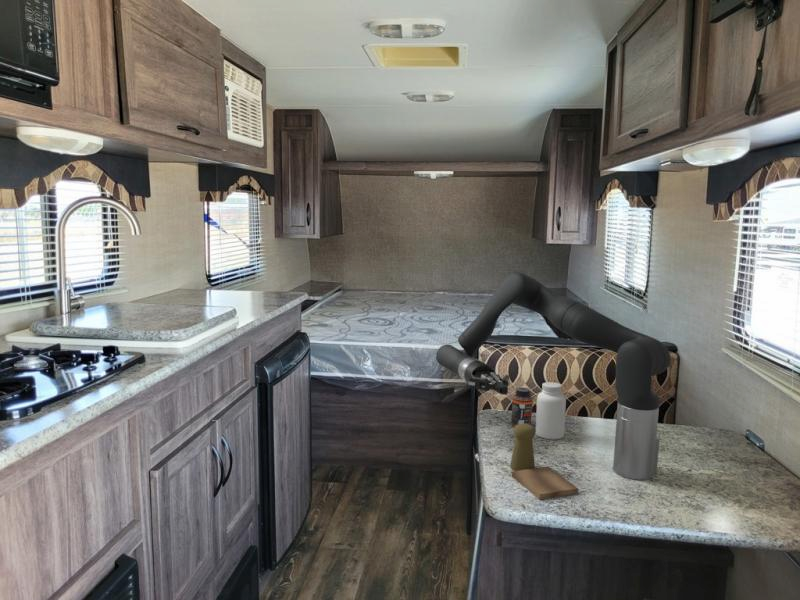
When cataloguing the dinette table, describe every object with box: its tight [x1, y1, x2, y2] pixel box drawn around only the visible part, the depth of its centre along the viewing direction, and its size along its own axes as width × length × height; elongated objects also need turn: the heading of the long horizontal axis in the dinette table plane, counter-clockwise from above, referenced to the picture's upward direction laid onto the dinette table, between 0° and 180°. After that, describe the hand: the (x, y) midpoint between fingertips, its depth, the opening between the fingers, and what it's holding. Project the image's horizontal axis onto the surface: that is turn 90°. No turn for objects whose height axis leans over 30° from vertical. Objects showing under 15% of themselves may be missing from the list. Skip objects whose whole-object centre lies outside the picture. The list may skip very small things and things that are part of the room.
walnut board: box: [511, 466, 579, 500], centre depth 133 cm, size 10×12×1 cm
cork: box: [509, 424, 536, 471], centre depth 141 cm, size 6×6×11 cm
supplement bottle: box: [510, 386, 534, 427], centre depth 170 cm, size 6×6×11 cm
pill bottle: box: [535, 381, 567, 441], centre depth 163 cm, size 8×8×15 cm
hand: (504, 390), depth 149 cm, fingers closed
